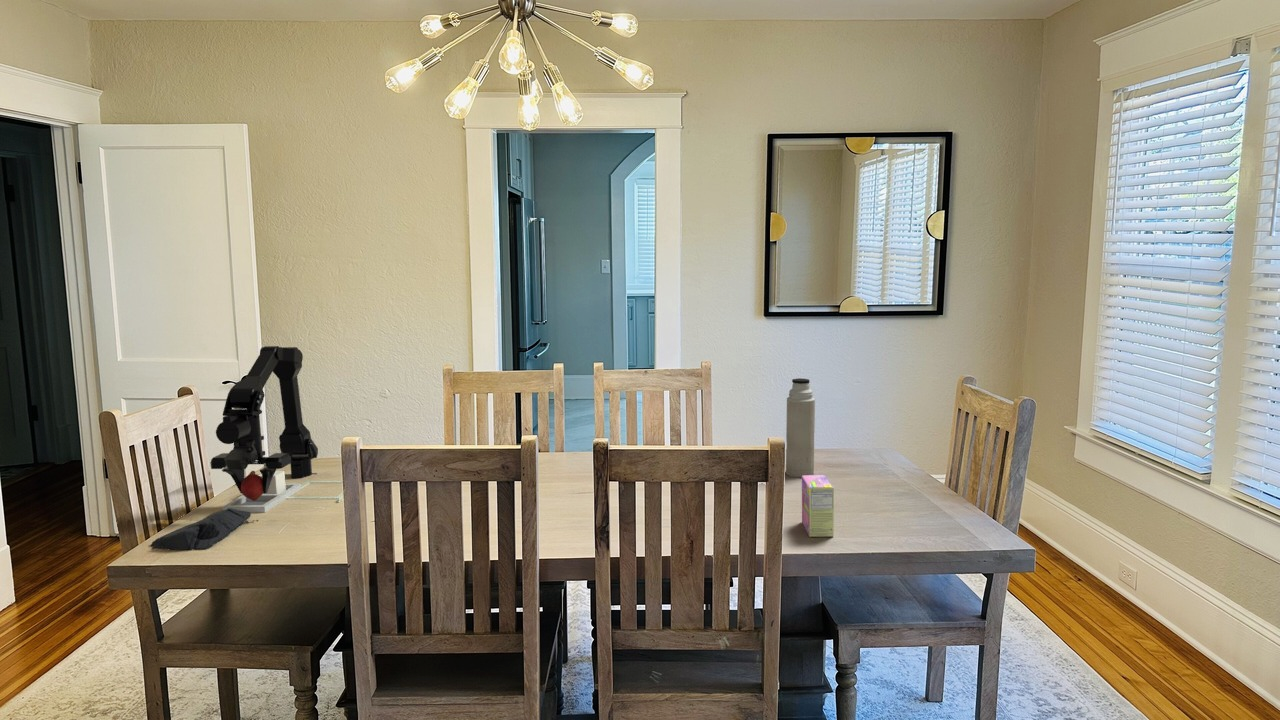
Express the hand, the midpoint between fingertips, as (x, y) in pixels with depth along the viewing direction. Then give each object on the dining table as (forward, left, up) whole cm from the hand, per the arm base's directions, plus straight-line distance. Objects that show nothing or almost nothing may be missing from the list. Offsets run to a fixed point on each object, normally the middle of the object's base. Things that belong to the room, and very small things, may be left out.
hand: (253, 492), depth 210 cm
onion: (0, 0, -2) cm, 2 cm away
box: (+14, +143, -5) cm, 144 cm away
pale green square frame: (-14, +12, -4) cm, 19 cm away
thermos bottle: (-33, +146, -5) cm, 150 cm away
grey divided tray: (-5, 0, -4) cm, 6 cm away
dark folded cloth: (+18, -3, -5) cm, 19 cm away
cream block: (-9, 0, -3) cm, 10 cm away
